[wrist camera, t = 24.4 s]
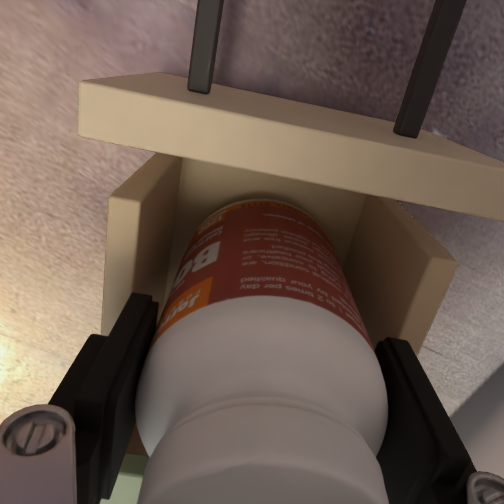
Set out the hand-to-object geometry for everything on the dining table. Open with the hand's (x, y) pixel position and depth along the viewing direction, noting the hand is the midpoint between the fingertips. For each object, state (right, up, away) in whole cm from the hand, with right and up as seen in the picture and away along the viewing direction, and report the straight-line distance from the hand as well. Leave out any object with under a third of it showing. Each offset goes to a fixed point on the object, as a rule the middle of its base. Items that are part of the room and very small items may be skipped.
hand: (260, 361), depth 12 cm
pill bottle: (0, +3, +6) cm, 6 cm away
